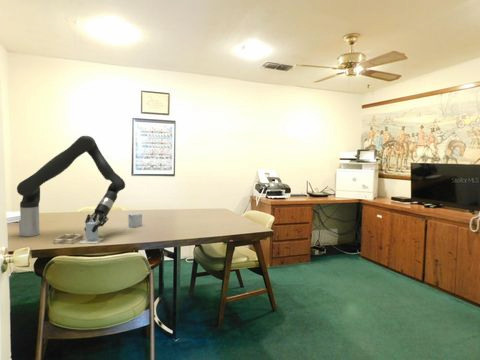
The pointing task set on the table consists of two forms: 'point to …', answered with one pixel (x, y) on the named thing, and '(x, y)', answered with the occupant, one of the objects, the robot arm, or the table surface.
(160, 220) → the table surface
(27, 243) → the table surface
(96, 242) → the mat
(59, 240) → the well board
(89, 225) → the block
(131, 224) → the medicine box
